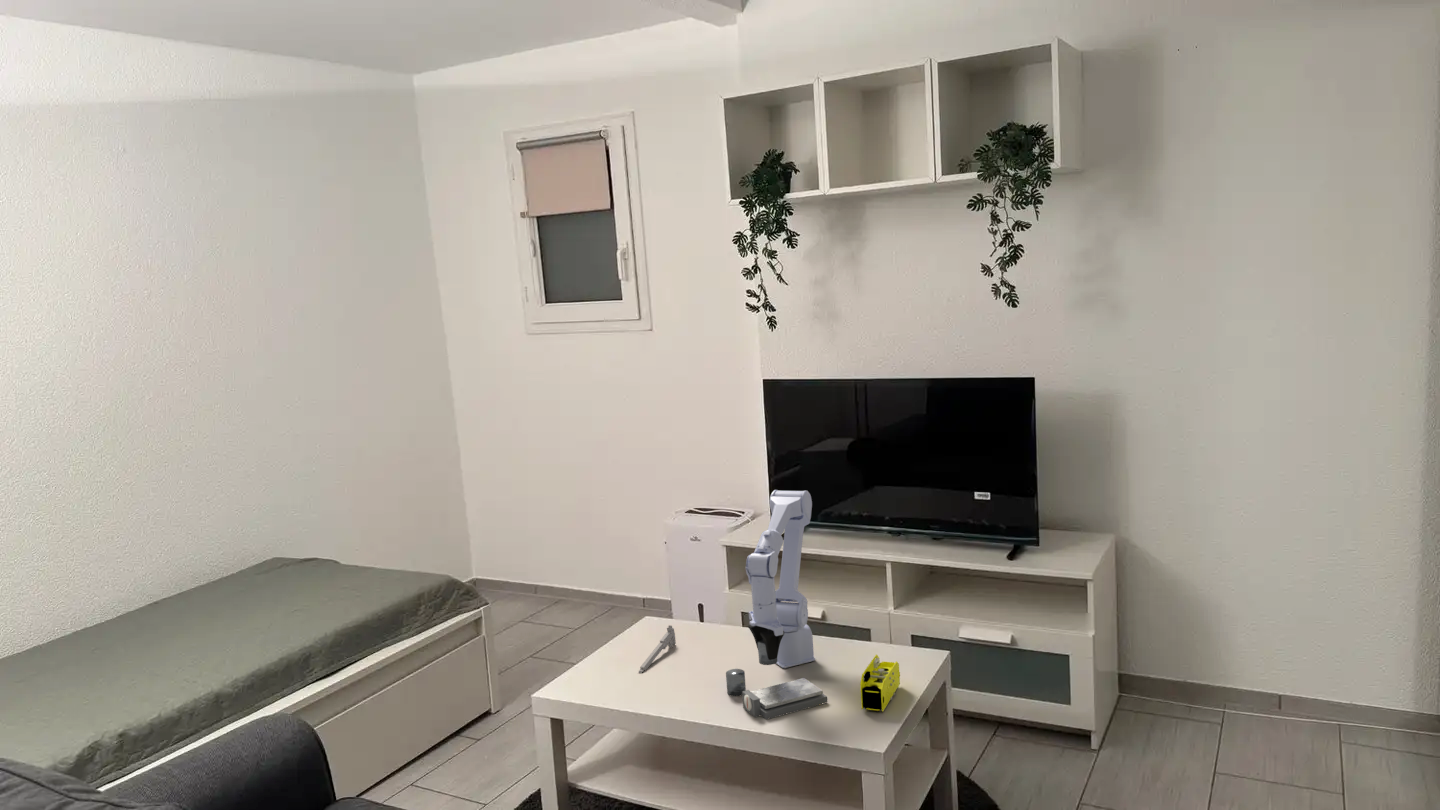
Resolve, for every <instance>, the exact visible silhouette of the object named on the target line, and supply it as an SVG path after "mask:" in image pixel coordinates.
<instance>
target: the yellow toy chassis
mask: <svg viewBox="0 0 1440 810" xmlns="http://www.w3.org/2000/svg"><path fill="white" fill-rule="evenodd" d="M864 669H865V670H864V671H863V672H862V673H861V678H860V683H859V686H860V703H861V704H860V705H861V710H863V709H865V710H866V711H869V712H870V711H872V712H881V711H882V712H884V711H885V709H886V707H887V706H888V704H889V703H890V701H892V700H893V697H894V696H896V692H897V689H898V688H899V686H900V684H901V678H900V677H901V672H900V663H899V662H898V661H897V660H896V661H895V662H893V661H881V662H880V656H879V655H878V654H875V655H874V656H873V658H872V659H871V661H870V663H869V664H868V666H866V667H865V668H864Z"/></svg>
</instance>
